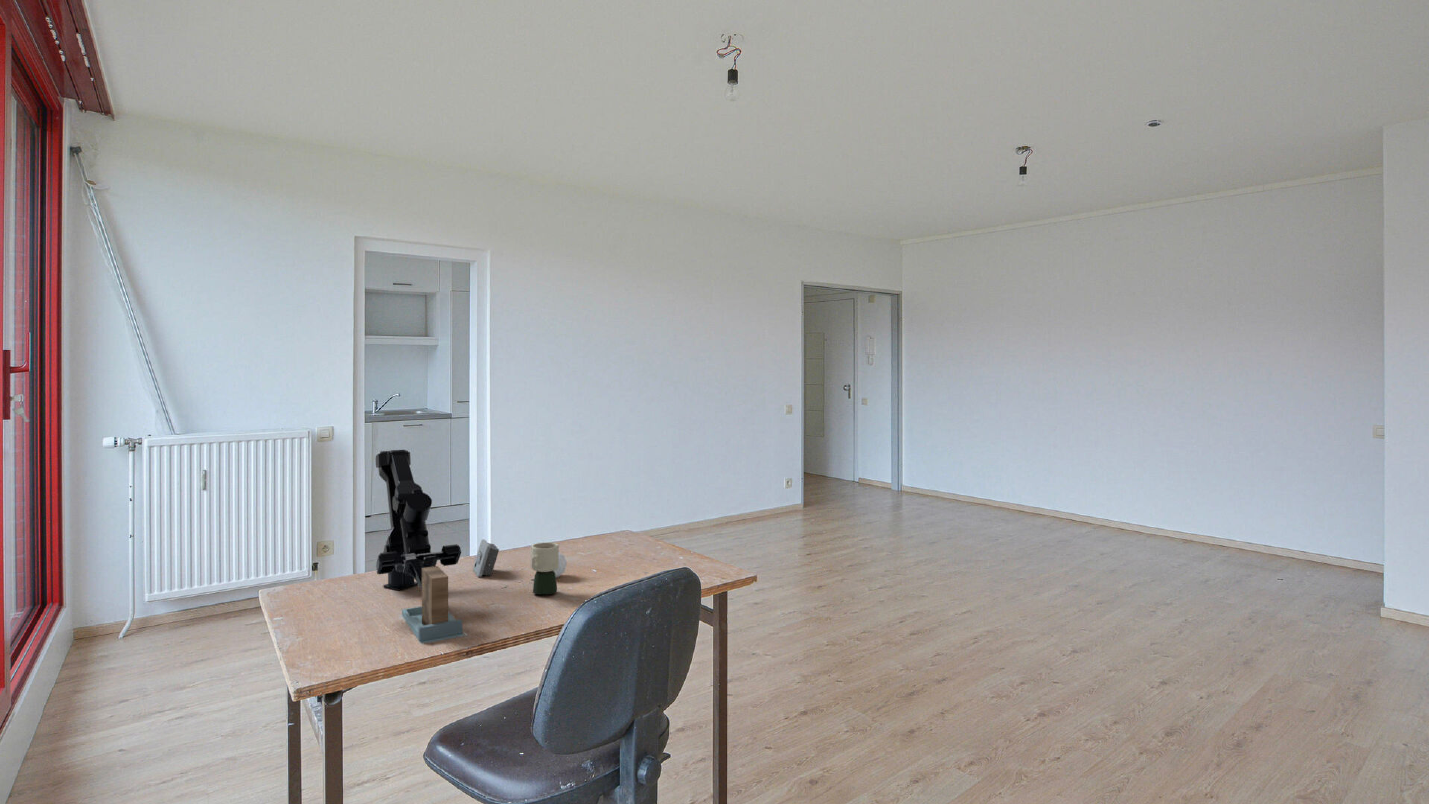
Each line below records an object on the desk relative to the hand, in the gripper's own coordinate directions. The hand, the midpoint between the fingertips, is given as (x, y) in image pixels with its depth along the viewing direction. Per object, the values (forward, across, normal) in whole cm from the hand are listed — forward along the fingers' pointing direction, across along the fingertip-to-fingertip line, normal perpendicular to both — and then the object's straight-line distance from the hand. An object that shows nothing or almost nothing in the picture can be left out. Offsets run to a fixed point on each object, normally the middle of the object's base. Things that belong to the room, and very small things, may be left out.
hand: (424, 589), depth 173 cm
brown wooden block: (+12, 0, +3) cm, 12 cm away
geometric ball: (-7, -38, -17) cm, 43 cm away
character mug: (+3, -31, -7) cm, 32 cm away
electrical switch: (-17, -23, -28) cm, 40 cm away
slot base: (+10, 0, +1) cm, 10 cm away
